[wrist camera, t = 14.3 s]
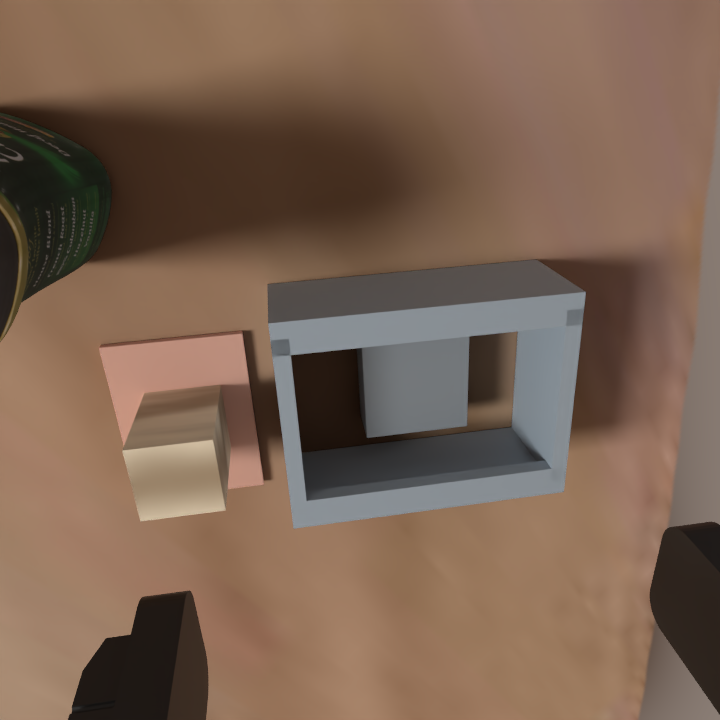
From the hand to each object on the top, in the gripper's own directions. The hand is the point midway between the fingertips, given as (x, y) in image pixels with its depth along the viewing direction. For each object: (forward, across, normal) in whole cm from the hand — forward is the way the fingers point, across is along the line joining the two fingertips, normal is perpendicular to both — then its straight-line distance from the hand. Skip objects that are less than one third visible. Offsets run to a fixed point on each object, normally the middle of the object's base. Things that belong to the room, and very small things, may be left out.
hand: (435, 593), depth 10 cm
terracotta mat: (+30, +10, +14) cm, 35 cm away
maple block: (+30, +10, +14) cm, 34 cm away
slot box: (+30, -6, +12) cm, 33 cm away
